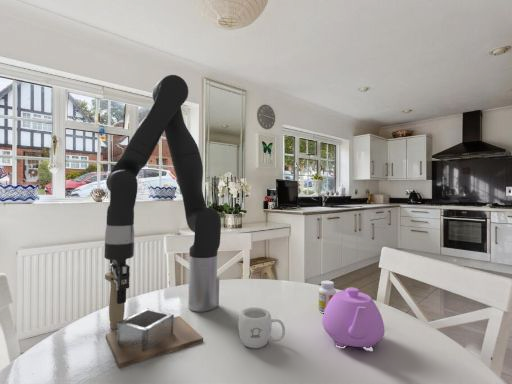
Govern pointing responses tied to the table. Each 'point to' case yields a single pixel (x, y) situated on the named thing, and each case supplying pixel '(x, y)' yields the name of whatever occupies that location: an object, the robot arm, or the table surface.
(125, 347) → the walnut board
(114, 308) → the handle
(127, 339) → the collar
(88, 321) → the table surface
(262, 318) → the mug
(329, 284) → the supplement bottle
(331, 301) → the teapot
